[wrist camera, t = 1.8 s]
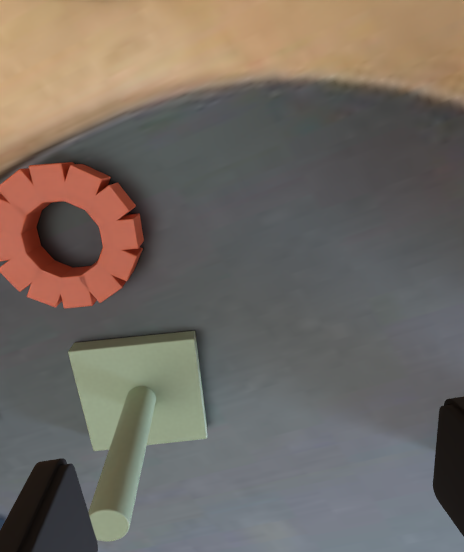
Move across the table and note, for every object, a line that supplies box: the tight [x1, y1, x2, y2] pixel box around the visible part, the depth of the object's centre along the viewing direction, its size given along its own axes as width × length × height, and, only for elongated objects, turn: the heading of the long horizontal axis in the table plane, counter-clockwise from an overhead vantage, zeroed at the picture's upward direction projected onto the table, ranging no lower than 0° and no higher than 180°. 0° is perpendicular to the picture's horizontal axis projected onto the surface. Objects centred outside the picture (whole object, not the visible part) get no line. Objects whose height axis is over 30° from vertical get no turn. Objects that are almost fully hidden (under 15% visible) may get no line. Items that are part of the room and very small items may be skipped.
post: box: [68, 331, 207, 541], centre depth 26 cm, size 10×10×12 cm
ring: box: [0, 162, 144, 308], centre depth 26 cm, size 10×10×2 cm
